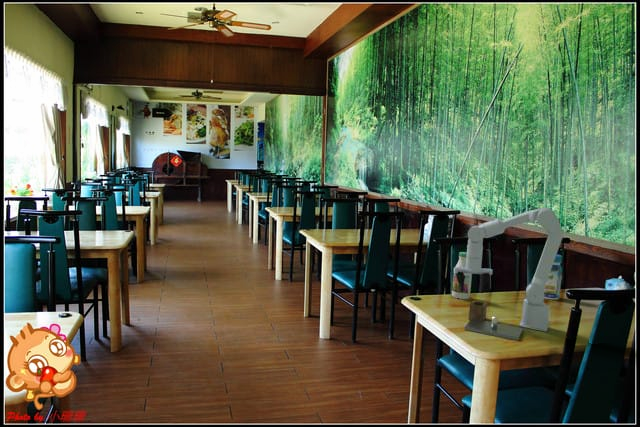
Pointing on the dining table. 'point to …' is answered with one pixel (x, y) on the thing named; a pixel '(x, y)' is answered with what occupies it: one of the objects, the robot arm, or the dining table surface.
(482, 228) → the robot arm
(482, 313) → the hollow wooden block
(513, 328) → the plate
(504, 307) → the dining table surface
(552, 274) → the beverage bottle
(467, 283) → the milk bottle
